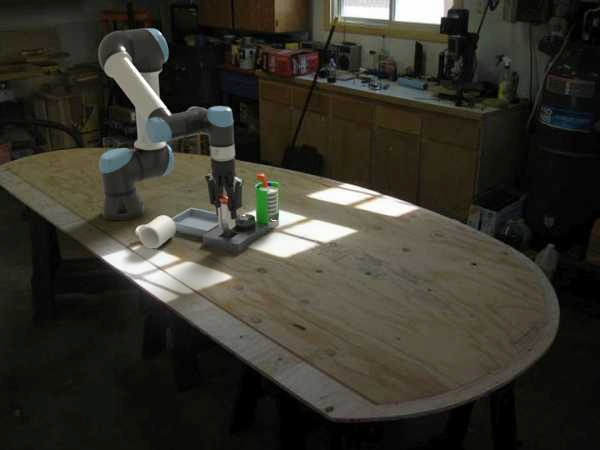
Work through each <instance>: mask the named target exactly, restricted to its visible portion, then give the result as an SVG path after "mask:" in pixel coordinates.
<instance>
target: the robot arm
mask: <svg viewBox="0 0 600 450" xmlns="http://www.w3.org/2000/svg"><path fill="white" fill-rule="evenodd" d="M97 55H98V56H97V57H98V62H99V65H100V66H101V68H102V70H103V72H104V73H105V74H106V75H107V77H110V78H113V80H114V81H115V82H116V83H117V84H118V86H119V87H120V89H122V91H123V92H124V94H125V95H126V96H127V98H128V99H129V100H130V102H131V103H132V104H133V106H134V107H135V118H136V132H137V140H135V142H133V146H134V149H133V150H131V149H130V148H127V147H121V148H114V149H111V150H108V151H106V152H103V154H101V156H100V157H99V160H98V163H99V164H98V165H99V167H98V169H99V171H100V177H101V184H102V189H103V200H102V206H101V216H102V218H104V219H105V220H107V219H109V221H113V220H121V221H127V220H132V219H135V218H138V217H139V216H141V215H143V214H144V213H145V206H144V203H143V202H142V199H141V196H140V194H139V193H138V189H137V184H138V183H141V182H145V181H149V180H152V179H157V178H162V177H163V176H166V175H168V174H170V173H171V172H172V170H173V168H174V162H175V156H174V153H173V150H172V148H171V147H170V145H168V144H167V142H170V141H174V140H178V139H181V138H182V139H183V138H187V137H191V136H196V135H206V136H208V139H209V141H208V142H209V151H210V152H209V155H210V158H211V159H210V168H211V171H212V172H210V173H208V174H206V175H205V176H204V178H205V180H206V182H207V183H206V184H207V189H208V195H209V196H208V197H209V204H210V205H214V206H215V213H216V214H217V216H218V219H219V227H222V215H221V202H219V197H221V196H222V195H224V191H225V192H226V195H227V198H228V203H229V208H230V209H229V210H228V224H229V229H232V228H233V227H235V218H236V217H237V215H238V214H237V210H239V209H240V208H242V203H243V192H242V191H243V184H244V179H243V178H238V177H237V174H236V167H237V166H236V158H235V157H236V149H235V132H234V131H235V129H234V128H235V127H234V117H233V111H232V108H230V107H229V106H222V105H217V106H211V107H209V108H208V109H206V108H204V107H200V106H191V107H189V108H188V109H187V110H186V111H182V112H177V113H172V111H170V109H168V107H167V106H166V105H165V103H164V102H163V101H162V100H161V98H160V86H159V85H160V83H159V82H160V81H159V80H160V79H159V74H160V73H161V72H162V71H163V64H164V63H166V62H167V61H168V59H169V47H168V43H167V41H166V38H165V37H164V36H163V34H162V33H161V32H160V31H159V30H158V29H156V28H145V27H144V28H136V29H128V30H116V31H113V32H110V33H108V34H107V35H105V36H104V37H103V39H102V40H101V42H100V44H99V47H98V51H97Z"/></svg>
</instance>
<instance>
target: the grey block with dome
mask: <svg viewBox="0 0 600 450" xmlns="http://www.w3.org/2000/svg"><path fill="white" fill-rule="evenodd" d="M232 231H233V238H231V239H228V238H223V230H222V227H219V226H218V227H217V228H215V229H213V230H212V231H210V232H208V233H207V234H205V235H204V236H203V238H202V242H203V245H205V246H209V247H214V248H218V249H221V250H225V251H230V252H234V253H237V254H239V253H241V252H243V251H244V250H245V249H247V248H248V247H249V246H251V245H252V244H254V243H255V242H256V241H258V240H259V239H261V238H262V237H264V236H265V235H267V234H268V233H269V228H268V224H266V223H262V222H257V221H256V215H253V214H249V213H239V214H237V217H236V218H235V227H233V228H232Z"/></svg>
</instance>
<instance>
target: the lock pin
mask: <svg viewBox="0 0 600 450" xmlns="http://www.w3.org/2000/svg"><path fill="white" fill-rule="evenodd" d="M219 202H221V215H222V230H223V238H228V239H231V238H233V231H232V229H229V224H228V210H229V209H230V208H229V203H228V198H227V194H223V195H222V196H221V197H219Z"/></svg>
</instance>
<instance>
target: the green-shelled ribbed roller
mask: <svg viewBox="0 0 600 450" xmlns="http://www.w3.org/2000/svg"><path fill="white" fill-rule="evenodd" d="M256 181H261V182H258V183H256V184H255V186H254V189H255V191H254V192H255V194H254V195H255V221H257V222H262V223H266V224H268V229H269V228H276V227H277V226H279V224H280V193H279V191H280V189H279V187H280V186H279V185H280V183H279V182H276V181H268V179H267V175H265V173H258V174H257V175H256ZM271 219H272V220H276V221H272V220H271Z"/></svg>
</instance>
